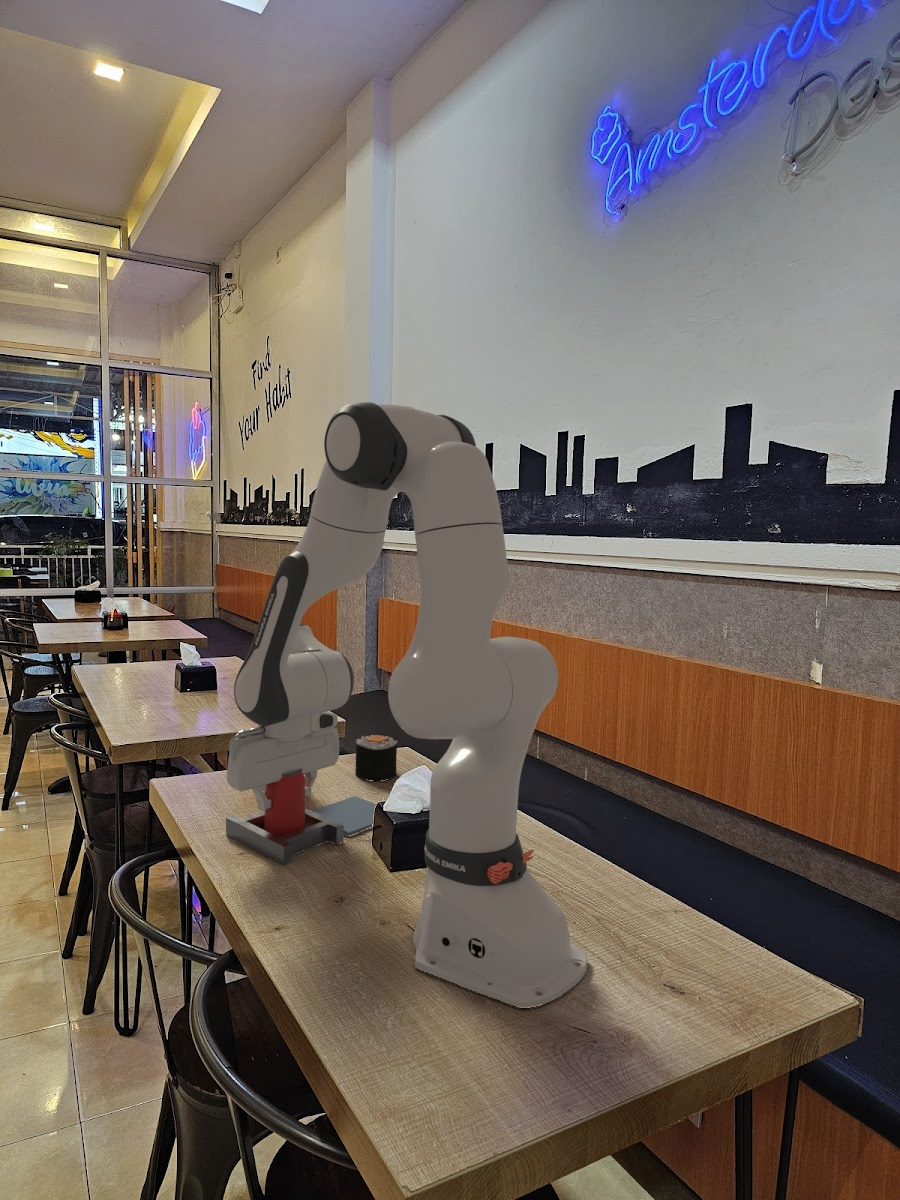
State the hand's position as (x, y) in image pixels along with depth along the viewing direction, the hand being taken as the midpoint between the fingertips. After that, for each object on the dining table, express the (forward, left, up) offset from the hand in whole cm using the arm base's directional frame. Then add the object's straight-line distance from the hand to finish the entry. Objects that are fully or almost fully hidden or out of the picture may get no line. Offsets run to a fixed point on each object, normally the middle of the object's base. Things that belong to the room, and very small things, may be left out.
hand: (285, 802), depth 128 cm
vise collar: (0, 0, -6) cm, 6 cm away
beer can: (0, 0, -6) cm, 6 cm away
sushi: (+13, -33, -7) cm, 36 cm away
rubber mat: (-1, -14, -6) cm, 15 cm away
